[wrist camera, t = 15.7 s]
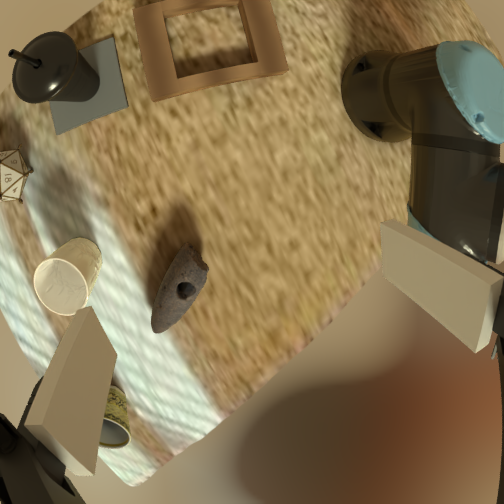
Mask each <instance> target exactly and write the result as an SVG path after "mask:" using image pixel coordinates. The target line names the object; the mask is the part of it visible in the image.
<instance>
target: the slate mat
mask: <svg viewBox="0 0 504 504" xmlns="http://www.w3.org/2000/svg"><path fill="white" fill-rule="evenodd" d="M79 52H80V53H81V54H82V56H83V57H84V58H85V59H86V61H87V62H88V63H89V64H90V65H91V67H92V68H93V69H94V70H95V71H96V73H97V74H98V76H99V78H100V86H99V89H98V91H97V93H96V94H95V96H94V97H92V98H91V99H90V100H88V101H85V102H65V101H49V103H50V108H51V113H52V117H53V122H54V127H55V131H56V135H60V134H62V133H64V132H66V131H68V130H71V129H73V128H75V127H78V126H80V125H82V124H85V123H87V122H90V121H92V120H95V119H97V118H100V117H103V116H105V115H108V114H111V113H113V112H116V111H119V110H122V109H124V108H127V107H128V102H127V98H126V94H125V89H124V84H123V80H122V75H121V70H120V65H119V60H118V55H117V50H116V45H115V39H114V38H113V37H112V38H109V39H106V40H104V41H101V42H98V43H96V44H93V45H91V46H88V47H86V48H84V49H81V50H79Z"/></svg>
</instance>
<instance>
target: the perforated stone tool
mask: <svg viewBox="0 0 504 504" xmlns="http://www.w3.org/2000/svg"><path fill="white" fill-rule="evenodd" d="M208 271H209V268H208V266H207V264H206V263H204V261H203V260H202V257H201V256H200V255H199V254H198V253H197V252H196V250H195V249H194V248H193V246H192V245H191V244H190V243H188V242H186V243H185V244H184V245H183V246H182V247H181V249H180V250H179V252H178V253H177V255H176V256H175V258H174V260H173V261H172V263H171V265H170V267H169V269H168V270H167V272H166V274H165V276H164V278H163V280H162V283H161V285H160V287H159V290H158V293H157V296H156V299H155V302H154V305H153V310H152V316H151V326H152V329H153V332H154V333H162V332H164V331H165V330H167V329H168V328H169V327H171V326H172V325H174V324H175V323H177V322H178V321H179V320H180V318H181V317H182V315H183V314H185V313H186V311H187V310H188V309H189V308H190V306H191V305H192V303H193V302H194V301H195V299H196V297H197V296H198V294H199V292H200V291H201V289H202V288H203V286H204V284H205V282H206V279H207V273H208Z"/></svg>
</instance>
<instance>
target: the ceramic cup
mask: <svg viewBox="0 0 504 504" xmlns="http://www.w3.org/2000/svg"><path fill="white" fill-rule="evenodd" d="M130 441H131V433H130V425H129V420H128V416H127V407H126V395H125V394H124V393H123V392H122V391H121V390H120V389H118V388H117V387H116V386H112V385H110V389H109V394H108V398H107V403H106V408H105V413H104V419H103V424H102V429H101V435H100V441H99V447H103V448H108V449H119V448H123V447H125V446H127V445H128V444H129V443H130Z"/></svg>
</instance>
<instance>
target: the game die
mask: <svg viewBox="0 0 504 504" xmlns="http://www.w3.org/2000/svg"><path fill="white" fill-rule="evenodd" d="M21 147H22V144H20V145H19V147H18V149H15V150H7V151H0V202H5V201H12V200H19V202H20V203H21V204H23V201H22V199H20V197H21V194H22V191H23V188H24V186H25V183H26V180H27V177H28V175H29V173H32V172H34V171H33V170H30V171H29V170H28V168H27V166H26V164H25V162H24V159H23V157H22V155H21V153H20V151H19V150H20V149H21Z"/></svg>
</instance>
